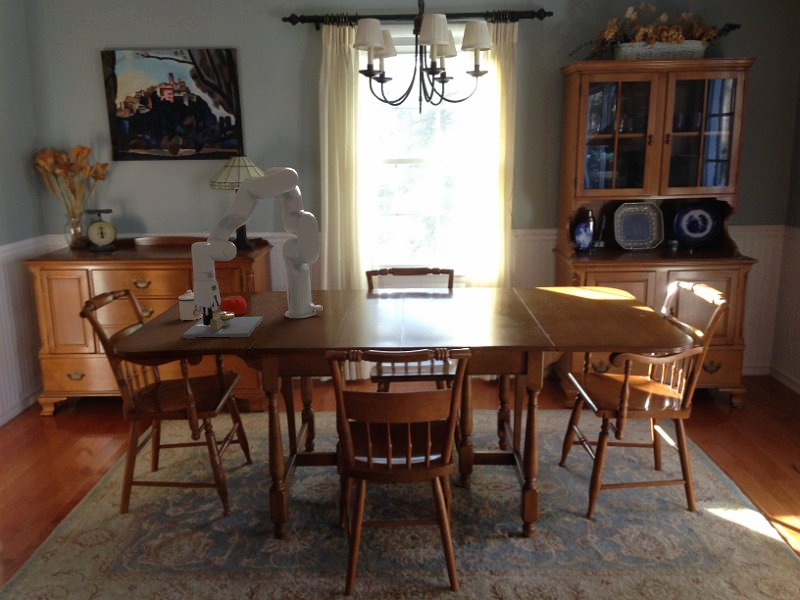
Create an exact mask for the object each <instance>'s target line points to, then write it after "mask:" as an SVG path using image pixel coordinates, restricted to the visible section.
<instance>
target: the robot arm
mask: <svg viewBox="0 0 800 600" xmlns="http://www.w3.org/2000/svg"><path fill="white" fill-rule="evenodd" d="M299 181H300V179H299V174H298V172H297V171H296V170H295V169H293V168H291V167H279V166H276V167H269V168H268V169H266V170H265V171H264V174H263V176H258V175H257V176H255V175H253V176H247V177H245V178H243V180H242V181H241V183H240V184H239V185H240V186H239V187H238V189H237V192H236V193H235V195H234V197H233V199H232V201H231V203H230V206H229V208H228V209H227V211H226V212H225V213H224V214H223V215H222V217H221V218H220V219H218V221H217V222H216V223H215V225H214V226H213V228H212V229H211V231H210V233H209V236H208V238H207V240H206V241H197V242H193V243H191V257H192V258H191V259H192V271H193V272H192V273H193V288H192V289H193V293H194V303H195V304H196V305H197V308H199V309H200V310H201V313H202V315H203V317H202V318H203V324H204V325H206V326H208V325H211V324H210V320H211V319H212V318H213V314H215V312H216V311H218V310H219V309H218V307H220V304H221V301H222V300H221V295H220V288H219V283H218V281H217V279H216V270H215V269H216V268H215V262H219V261H220V262H227V261H231V260H233V259H234V258H235V257H236V255H237V251H238V250H237V247H236V245H235V244H234V243H233V242H232V241H230V240H229V239H230V236H232V234H233V233H234V232H235V231H236V230H238V229H239V228H240V227H242V226H244V225H246V224H247V223H248V222H250V221H251V218H252V215H254V211H255V209H256V207H257V205H258V203H259V201H266V200H269V199H272V198H275V197H277V196H278V198H279V201H280V206H281V217H282V225H283V230H284V232H286V233H288V234H290V235H294V236H296V237H290V238H287V239H286V240H285V241H284V243H283V245H282V247H281V248H282V249H281V250H282V251H281V252H282V257H283V262H284V267H285V276H286V277H285V278H286V279H285V281H286V292H287V293H286V297H287V308H288V310H287V311H285V312H284V316H285V317H286V318H289V319H307V318H310V317H311V318H312V317H314V316H315V315H316V314H317V311H318V312H319V311H320V312H321V311H323V310H324V309H323V305H321V304H318V305H317V304H316V305H315V304H314V301H313V302H312V289H311V288H312V287H311V272H310V266H309V265H311V264H315V263H316V261H317V260H318V259H319V257H320V253H321V245H320V244H321V243H320V242H321V241H320V233H319V232H320V229H319V224H318V221H317V218H316V217H315V215H314V214H312V212H309V211H305V208H304V201H303V197H302V195H303V194H302V192H301V190H300V188H299V186H298V184H299Z"/></svg>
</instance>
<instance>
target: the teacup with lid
mask: <svg viewBox="0 0 800 600" xmlns="http://www.w3.org/2000/svg"><path fill="white" fill-rule="evenodd" d="M185 292H186V293H183V294H182V295H180V296H178V298H177V300H178V306H179V315H180V320H181V321H183V320H193V321H197V320H196V319H198V320H201V319H202V318H203V315H202V313H201V310H200V309H199V308H197V305H196V304H195V303H194V293H193V292H192V290H191V289H188V290H186V291H185ZM200 318H201V319H200Z"/></svg>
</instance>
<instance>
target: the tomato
mask: <svg viewBox="0 0 800 600" xmlns="http://www.w3.org/2000/svg"><path fill="white" fill-rule="evenodd" d="M220 301H221V304H220V306H219V309H220V312H223V311H226V312H233V313H234V317H239V316H241V315H243V314H244V313H246V310H247V305H248V304H247V301H246V299H245V298H244V297H242V296H241V295H237V296H236V295H229V296H227V297H224V298H222V299H221V300H220Z"/></svg>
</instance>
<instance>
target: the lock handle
mask: <svg viewBox="0 0 800 600" xmlns="http://www.w3.org/2000/svg"><path fill="white" fill-rule="evenodd" d="M234 317H235V316H234V313H233V312H226V311H223V312H221V311H219V312H214V313H213V318H212V319H211V320H210V324H211V330H219V329H220V328H221V327H223V326H224V321H225V320H230V319H233V318H234Z"/></svg>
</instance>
